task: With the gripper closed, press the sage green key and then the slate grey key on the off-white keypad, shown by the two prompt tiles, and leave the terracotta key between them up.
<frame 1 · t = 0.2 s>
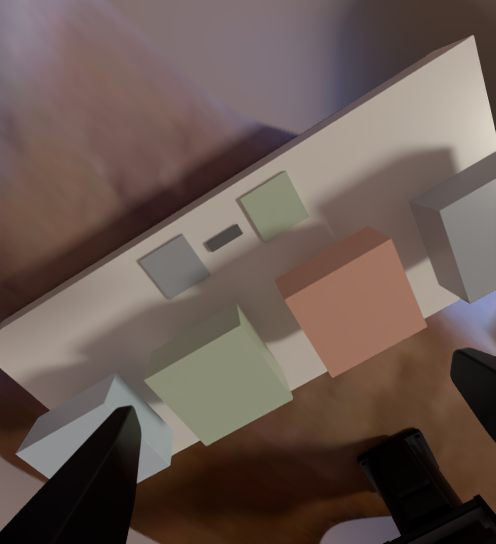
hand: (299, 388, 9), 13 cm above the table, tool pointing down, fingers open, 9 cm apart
keypad base: (258, 282, 22), on the table
key slate: (489, 224, 16), point 6 cm above the table, slide at 0.0 cm
key terracotta: (349, 302, 17), point 6 cm above the table, slide at 0.0 cm
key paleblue: (102, 441, 19), point 6 cm above the table, slide at 0.0 cm
key sage: (221, 374, 18), point 6 cm above the table, slide at 0.0 cm
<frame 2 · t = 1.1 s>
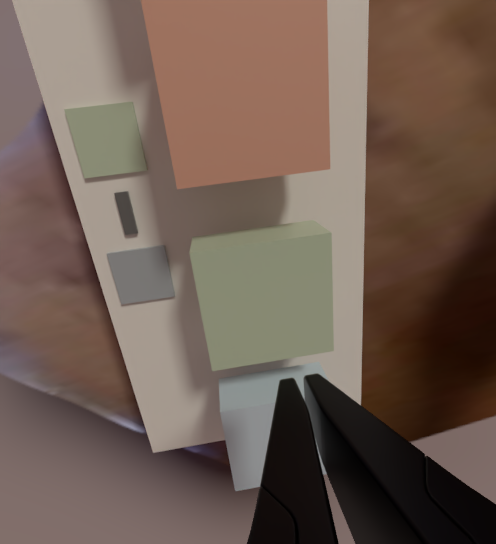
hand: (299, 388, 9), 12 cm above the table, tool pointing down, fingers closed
keypad base: (224, 191, 18), on the table
key terracotta: (242, 96, 12), point 6 cm above the table, slide at 0.0 cm
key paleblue: (277, 425, 18), point 6 cm above the table, slide at 0.0 cm
key sage: (263, 294, 15), point 6 cm above the table, slide at 0.0 cm
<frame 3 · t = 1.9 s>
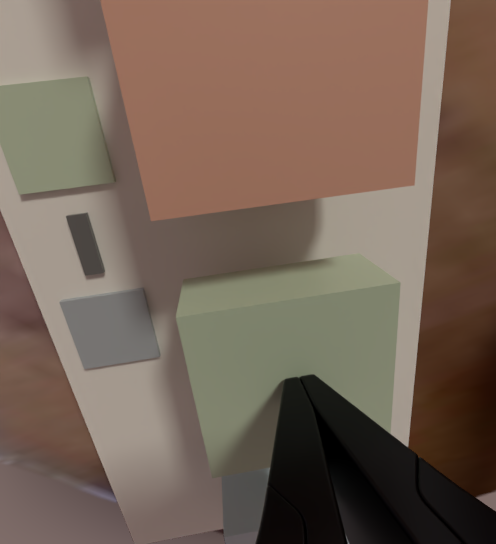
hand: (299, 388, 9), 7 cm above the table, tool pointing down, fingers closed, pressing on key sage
keypad base: (228, 208, 14), on the table
key terracotta: (264, 60, 7), point 6 cm above the table, slide at 0.0 cm
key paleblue: (303, 533, 13), point 6 cm above the table, slide at 0.0 cm
key sage: (287, 363, 10), point 6 cm above the table, slide at 0.3 cm, touching gripper
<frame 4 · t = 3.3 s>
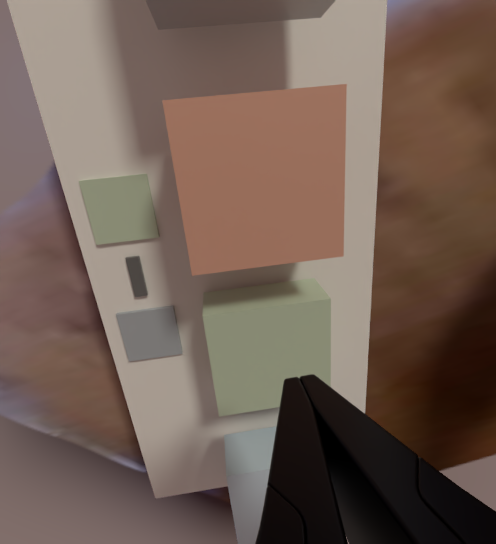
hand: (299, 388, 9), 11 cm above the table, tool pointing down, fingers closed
keypad base: (232, 246, 19), on the table
key terracotta: (258, 183, 12), point 6 cm above the table, slide at 0.0 cm
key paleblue: (281, 482, 18), point 6 cm above the table, slide at 0.0 cm
key sage: (267, 346, 16), point 4 cm above the table, slide at 1.3 cm
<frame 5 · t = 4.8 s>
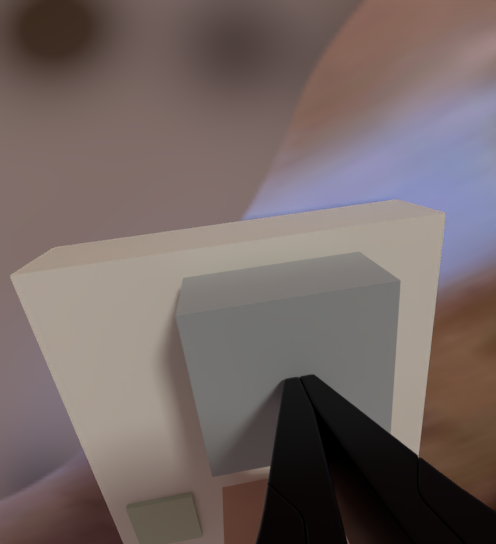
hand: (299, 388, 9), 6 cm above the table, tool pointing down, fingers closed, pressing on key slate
keypad base: (266, 483, 19), on the table
key slate: (287, 361, 10), point 5 cm above the table, slide at 1.1 cm, touching gripper
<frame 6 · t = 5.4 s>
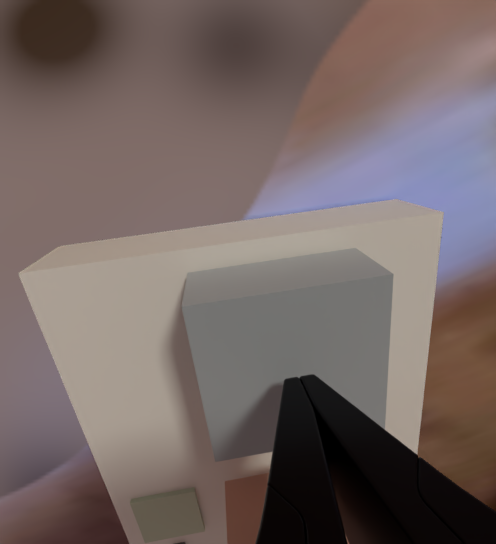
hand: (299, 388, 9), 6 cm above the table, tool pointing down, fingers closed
keypad base: (268, 479, 19), on the table
key slate: (287, 352, 10), point 4 cm above the table, slide at 1.3 cm
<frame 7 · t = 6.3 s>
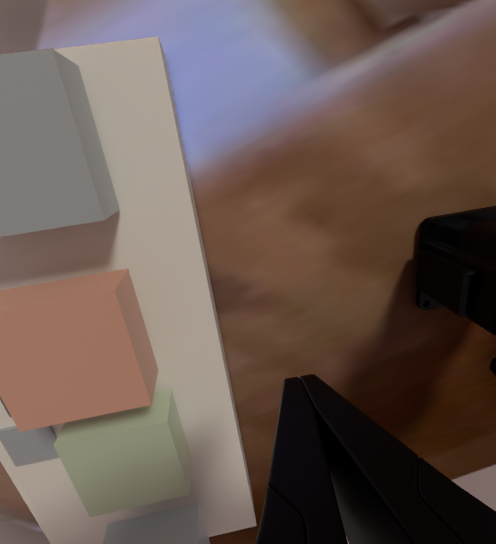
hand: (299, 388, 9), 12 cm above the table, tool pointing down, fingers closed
keypad base: (112, 350, 21), on the table
key slate: (16, 153, 12), point 4 cm above the table, slide at 1.3 cm
key terracotta: (74, 348, 14), point 6 cm above the table, slide at 0.0 cm
key sage: (131, 452, 18), point 4 cm above the table, slide at 1.3 cm
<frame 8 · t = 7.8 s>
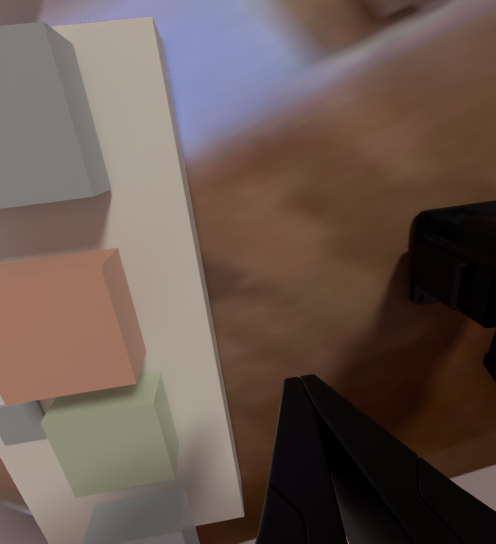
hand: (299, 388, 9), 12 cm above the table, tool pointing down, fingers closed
keypad base: (104, 334, 21), on the table
key slate: (9, 128, 12), point 4 cm above the table, slide at 1.3 cm
key terracotta: (62, 325, 14), point 6 cm above the table, slide at 0.0 cm
key sage: (118, 434, 18), point 4 cm above the table, slide at 1.3 cm
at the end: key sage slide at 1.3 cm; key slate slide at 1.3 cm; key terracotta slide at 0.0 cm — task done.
